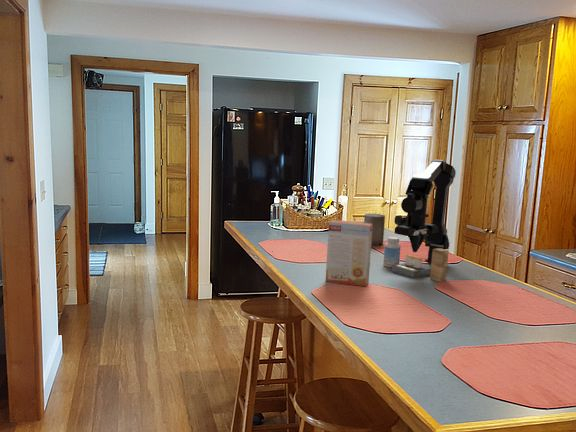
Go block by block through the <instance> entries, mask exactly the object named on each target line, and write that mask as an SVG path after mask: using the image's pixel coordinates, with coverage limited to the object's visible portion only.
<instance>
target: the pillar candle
mask: <svg viewBox="0 0 576 432" xmlns="http://www.w3.org/2000/svg"><path fill="white" fill-rule="evenodd" d="M363 218H364V219H363V223H371V224H373V226H372V241H371V246H380V245H379V244H382V245H384V238H385V237H384V236H385V223H386V222H385V221H386V215H385V214H381V213H376V212H374V213H365V214H364V217H363Z"/></svg>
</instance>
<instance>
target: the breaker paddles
mask: <svg viewBox="0 0 576 432" xmlns="http://www.w3.org/2000/svg"><path fill="white" fill-rule="evenodd" d="M404 259H405V261H404V263H405V264H406V265H409V266H412V265H413V264H414V266H413V267H416V268H422V264H423V261H424V260H423V258H422V257H418V256H415V255H410V254H406V256H405V258H404Z"/></svg>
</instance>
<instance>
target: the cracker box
mask: <svg viewBox="0 0 576 432" xmlns="http://www.w3.org/2000/svg"><path fill="white" fill-rule="evenodd" d="M372 226H373V224H371V223H364V222H360V221H350V220H338V219H332V220H330V221H329V223H328V238H327V250H326V251H327V252H326V264H325V265H326V269H325V282H328V283H329V282H331V283H337V284H343V285H345V284H346V285H352V286H358V287H366V286H367V285H368V284H369V281H370V280H369V279H370V267H371V266H370V265H371V253H372V251H371V250H372V245H371V241H372Z"/></svg>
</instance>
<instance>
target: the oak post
mask: <svg viewBox="0 0 576 432" xmlns="http://www.w3.org/2000/svg"><path fill="white" fill-rule="evenodd" d="M449 252H450V251H449V249H441V248H437V249H433V250H432V261H431V262H430V267H431V271H430V275H429V280H432V281H436V282H443V281H446V280H447V271H448V262H449Z"/></svg>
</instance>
